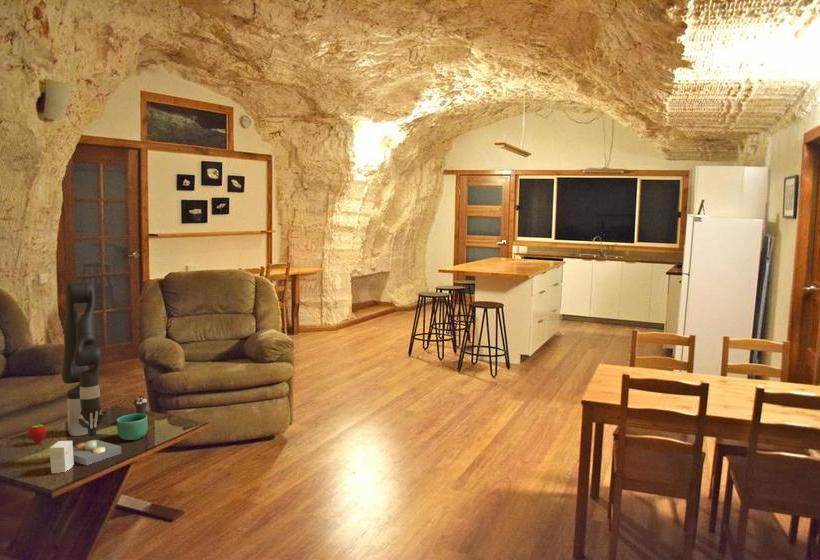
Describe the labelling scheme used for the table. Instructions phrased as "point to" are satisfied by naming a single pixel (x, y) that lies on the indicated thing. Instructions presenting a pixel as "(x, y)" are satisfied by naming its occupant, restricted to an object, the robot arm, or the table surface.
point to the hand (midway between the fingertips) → (92, 436)
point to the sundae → (140, 404)
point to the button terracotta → (80, 446)
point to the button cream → (99, 450)
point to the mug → (132, 426)
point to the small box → (61, 456)
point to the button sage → (90, 445)
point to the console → (90, 457)
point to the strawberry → (37, 433)
